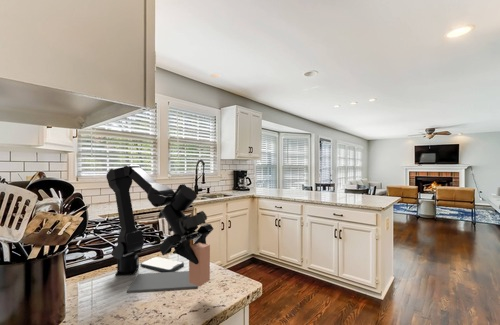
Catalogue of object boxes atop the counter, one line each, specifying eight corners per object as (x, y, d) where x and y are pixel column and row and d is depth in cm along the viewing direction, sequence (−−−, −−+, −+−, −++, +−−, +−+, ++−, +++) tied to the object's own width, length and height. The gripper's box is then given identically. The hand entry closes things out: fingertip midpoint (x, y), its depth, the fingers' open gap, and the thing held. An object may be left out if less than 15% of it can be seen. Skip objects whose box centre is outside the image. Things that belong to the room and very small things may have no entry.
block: (189, 282, 76) (189, 246, 75) (198, 276, 79) (199, 242, 79) (200, 286, 73) (200, 249, 73) (209, 280, 77) (209, 244, 77)
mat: (126, 292, 79) (126, 290, 79) (138, 275, 91) (138, 273, 91) (197, 288, 82) (197, 286, 82) (199, 272, 94) (199, 270, 94)
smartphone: (138, 267, 99) (169, 274, 92) (138, 263, 99) (169, 270, 92) (155, 259, 107) (185, 265, 100) (155, 256, 107) (185, 261, 100)
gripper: (166, 208, 70) (196, 255, 65) (209, 200, 86) (235, 237, 81) (148, 232, 74) (174, 278, 69) (192, 220, 90) (216, 256, 85)
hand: (203, 260), depth 76 cm, fingers closed on block, 4 cm apart
